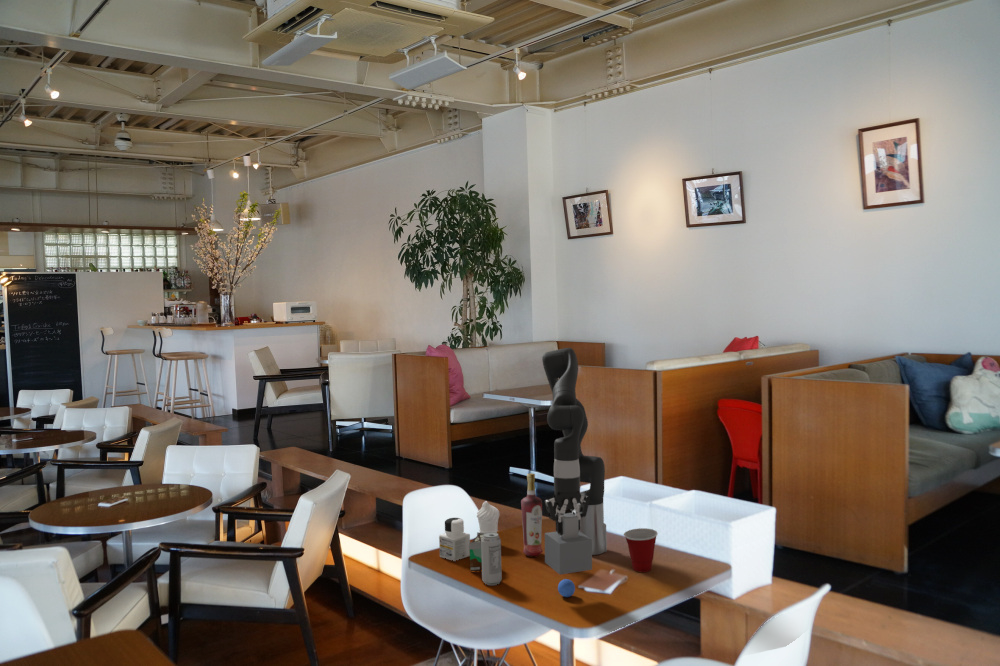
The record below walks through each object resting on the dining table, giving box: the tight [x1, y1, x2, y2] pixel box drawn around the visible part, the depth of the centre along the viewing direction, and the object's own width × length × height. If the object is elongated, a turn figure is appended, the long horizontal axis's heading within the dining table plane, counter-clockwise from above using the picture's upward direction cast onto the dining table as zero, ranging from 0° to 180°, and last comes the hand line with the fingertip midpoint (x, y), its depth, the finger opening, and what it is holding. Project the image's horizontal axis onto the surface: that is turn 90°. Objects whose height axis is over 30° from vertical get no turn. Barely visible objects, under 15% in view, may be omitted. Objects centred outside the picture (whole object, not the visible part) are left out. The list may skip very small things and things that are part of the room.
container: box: [438, 517, 471, 562], centre depth 253 cm, size 8×8×13 cm
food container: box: [469, 531, 485, 572], centre depth 241 cm, size 12×6×10 cm, turn 168°
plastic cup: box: [623, 527, 659, 573], centre depth 235 cm, size 11×11×12 cm
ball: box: [557, 578, 576, 598], centre depth 214 cm, size 5×5×5 cm
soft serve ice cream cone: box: [476, 500, 500, 533], centre depth 265 cm, size 8×8×16 cm
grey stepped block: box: [544, 512, 593, 575], centre depth 212 cm, size 10×10×15 cm
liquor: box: [520, 473, 543, 557], centre depth 252 cm, size 7×7×28 cm
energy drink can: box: [481, 532, 503, 586], centre depth 227 cm, size 6×6×15 cm
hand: (568, 532), depth 212 cm, fingers closed on grey stepped block, 4 cm apart
